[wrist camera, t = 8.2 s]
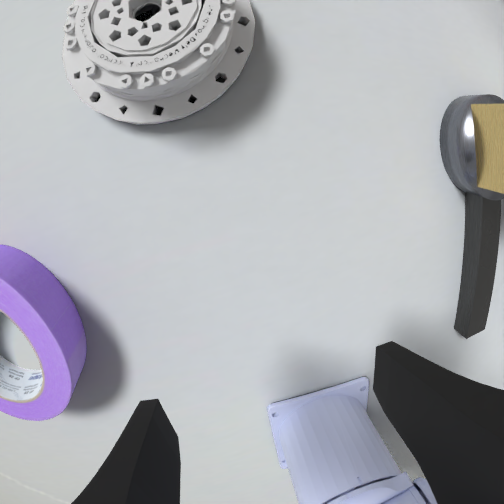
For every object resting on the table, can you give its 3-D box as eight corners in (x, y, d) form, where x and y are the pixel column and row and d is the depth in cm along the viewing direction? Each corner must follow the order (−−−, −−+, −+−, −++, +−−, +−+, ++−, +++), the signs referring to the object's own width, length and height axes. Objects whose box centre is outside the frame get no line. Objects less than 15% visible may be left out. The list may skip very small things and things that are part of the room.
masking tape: (99, 399, 20) (88, 436, 16) (-19, 373, 18) (-38, 400, 14) (77, 248, 16) (50, 273, 13) (-54, 239, 14) (-86, 256, 11)
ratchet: (488, 311, 23) (528, 340, 18) (433, 337, 23) (474, 376, 17) (495, 99, 17) (550, 100, 12) (433, 93, 16) (496, 87, 11)
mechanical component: (258, 114, 16) (244, -38, 12) (277, 104, 12) (257, -79, 8) (75, 140, 15) (76, -12, 11) (37, 140, 10) (49, -44, 7)
